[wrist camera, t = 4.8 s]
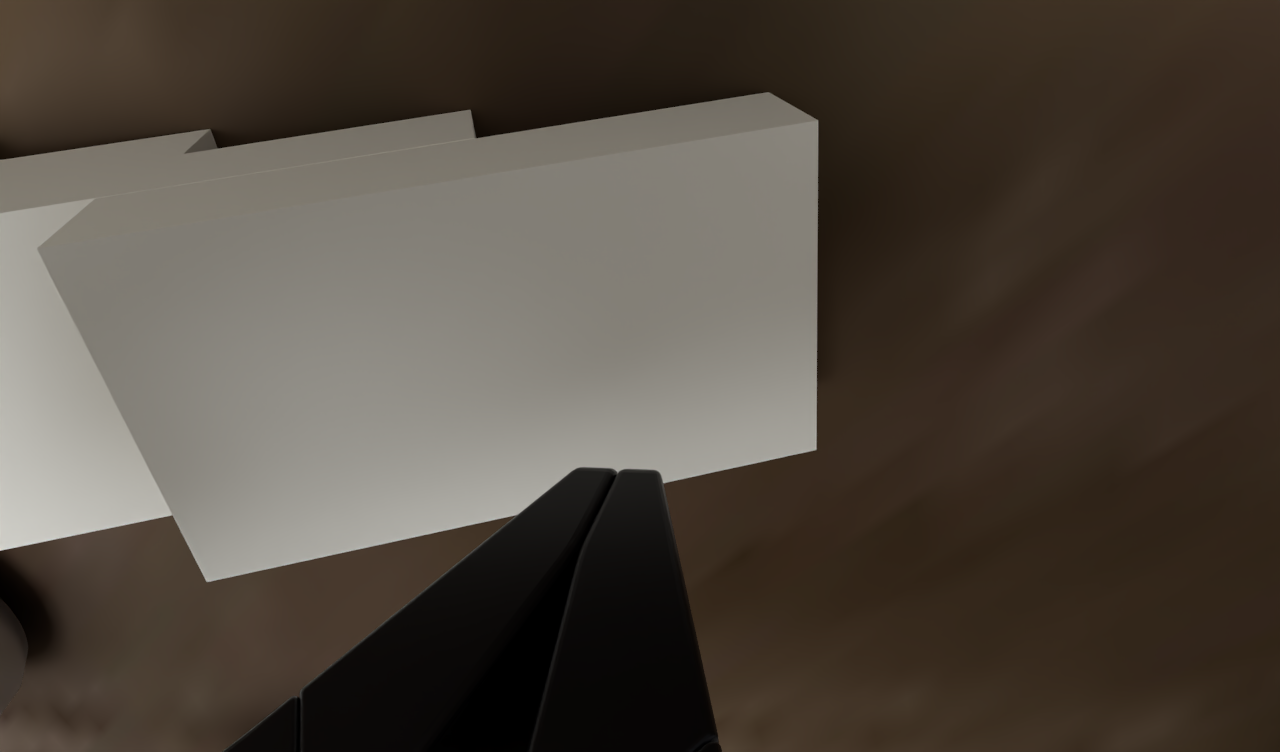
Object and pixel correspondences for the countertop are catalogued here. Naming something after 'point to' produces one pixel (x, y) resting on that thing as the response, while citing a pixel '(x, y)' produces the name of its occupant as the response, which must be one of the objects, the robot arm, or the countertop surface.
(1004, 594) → the countertop surface
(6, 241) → the tile
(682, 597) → the robot arm
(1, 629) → the plastic bottle
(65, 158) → the tile
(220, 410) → the tile
